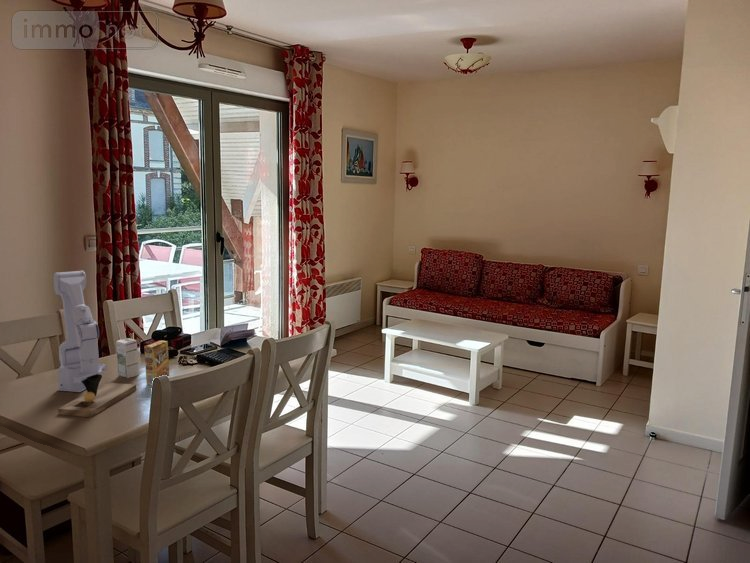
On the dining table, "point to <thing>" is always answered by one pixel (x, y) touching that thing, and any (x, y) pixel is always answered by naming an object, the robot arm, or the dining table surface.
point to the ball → (89, 396)
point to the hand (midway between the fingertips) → (92, 396)
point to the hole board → (97, 400)
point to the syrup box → (127, 358)
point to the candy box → (156, 360)
